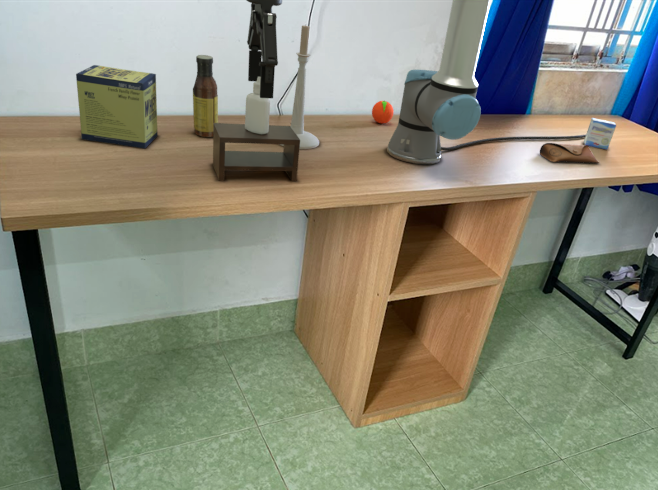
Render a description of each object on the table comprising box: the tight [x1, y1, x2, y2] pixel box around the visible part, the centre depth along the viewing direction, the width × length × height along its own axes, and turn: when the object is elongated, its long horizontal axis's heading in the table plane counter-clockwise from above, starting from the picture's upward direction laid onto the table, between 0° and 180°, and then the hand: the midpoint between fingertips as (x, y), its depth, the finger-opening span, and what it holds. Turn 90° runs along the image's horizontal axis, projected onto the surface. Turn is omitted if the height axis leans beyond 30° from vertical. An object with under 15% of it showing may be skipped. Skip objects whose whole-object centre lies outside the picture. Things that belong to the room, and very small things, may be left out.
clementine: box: [371, 100, 395, 125], centre depth 195 cm, size 8×7×7 cm
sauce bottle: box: [192, 54, 219, 138], centre depth 158 cm, size 6×6×20 cm
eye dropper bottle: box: [244, 77, 271, 135], centre depth 137 cm, size 4×6×12 cm
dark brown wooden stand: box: [212, 122, 300, 182], centre depth 143 cm, size 18×10×10 cm, turn 109°
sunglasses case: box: [539, 142, 600, 165], centre depth 192 cm, size 18×7×7 cm
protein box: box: [75, 64, 159, 149], centre depth 148 cm, size 10×16×16 cm
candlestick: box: [278, 25, 320, 150], centre depth 162 cm, size 13×13×30 cm
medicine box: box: [583, 117, 617, 151], centre depth 209 cm, size 8×4×9 cm, turn 76°
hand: (260, 89), depth 135 cm, fingers open, 13 cm apart
